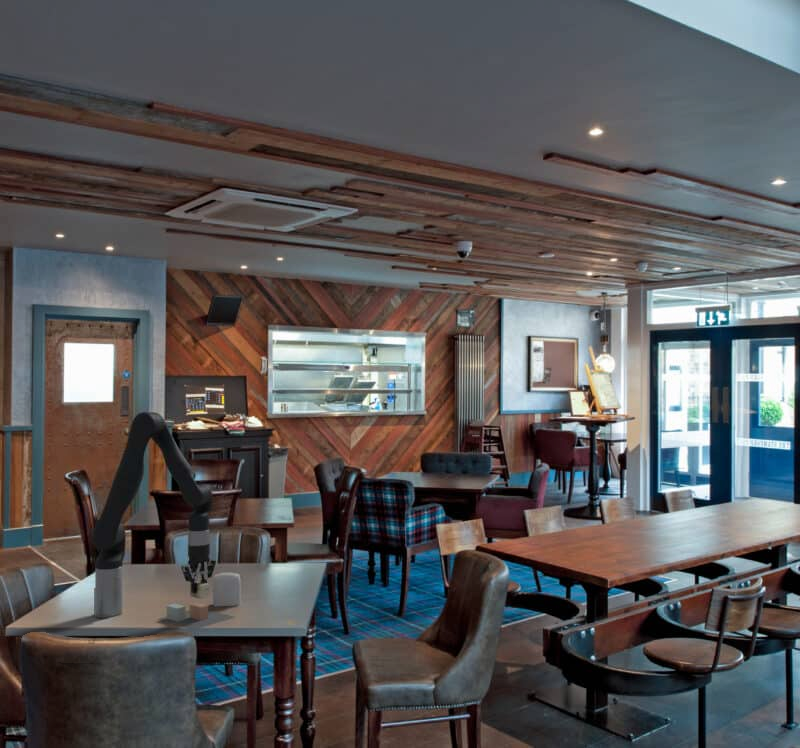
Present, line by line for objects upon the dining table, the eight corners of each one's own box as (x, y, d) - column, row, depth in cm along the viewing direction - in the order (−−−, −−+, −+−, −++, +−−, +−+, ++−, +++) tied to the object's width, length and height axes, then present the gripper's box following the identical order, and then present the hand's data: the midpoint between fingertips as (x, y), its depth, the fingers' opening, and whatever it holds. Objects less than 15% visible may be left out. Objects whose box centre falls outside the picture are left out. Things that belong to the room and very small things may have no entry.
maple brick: (190, 596, 279) (190, 583, 279) (198, 594, 282) (197, 581, 282) (201, 598, 275) (201, 585, 275) (209, 596, 278) (208, 583, 278)
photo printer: (212, 608, 293) (212, 574, 293) (213, 604, 297) (213, 571, 298) (240, 607, 294) (240, 573, 294) (241, 604, 298) (241, 571, 299)
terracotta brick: (189, 617, 279) (189, 604, 279) (197, 615, 282) (197, 602, 282) (200, 620, 275) (200, 607, 275) (208, 618, 278) (208, 605, 278)
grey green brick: (166, 618, 278) (166, 605, 278) (174, 616, 281) (174, 603, 281) (177, 621, 274) (177, 608, 274) (185, 619, 277) (185, 606, 277)
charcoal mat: (157, 620, 277) (157, 619, 277) (198, 609, 292) (198, 607, 292) (194, 631, 265) (194, 629, 265) (235, 618, 280) (235, 616, 280)
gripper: (207, 538, 287) (207, 586, 287) (175, 544, 276) (175, 594, 275) (221, 540, 282) (221, 589, 282) (189, 547, 271) (189, 597, 271)
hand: (198, 591), depth 279 cm, fingers closed on maple brick, 3 cm apart
